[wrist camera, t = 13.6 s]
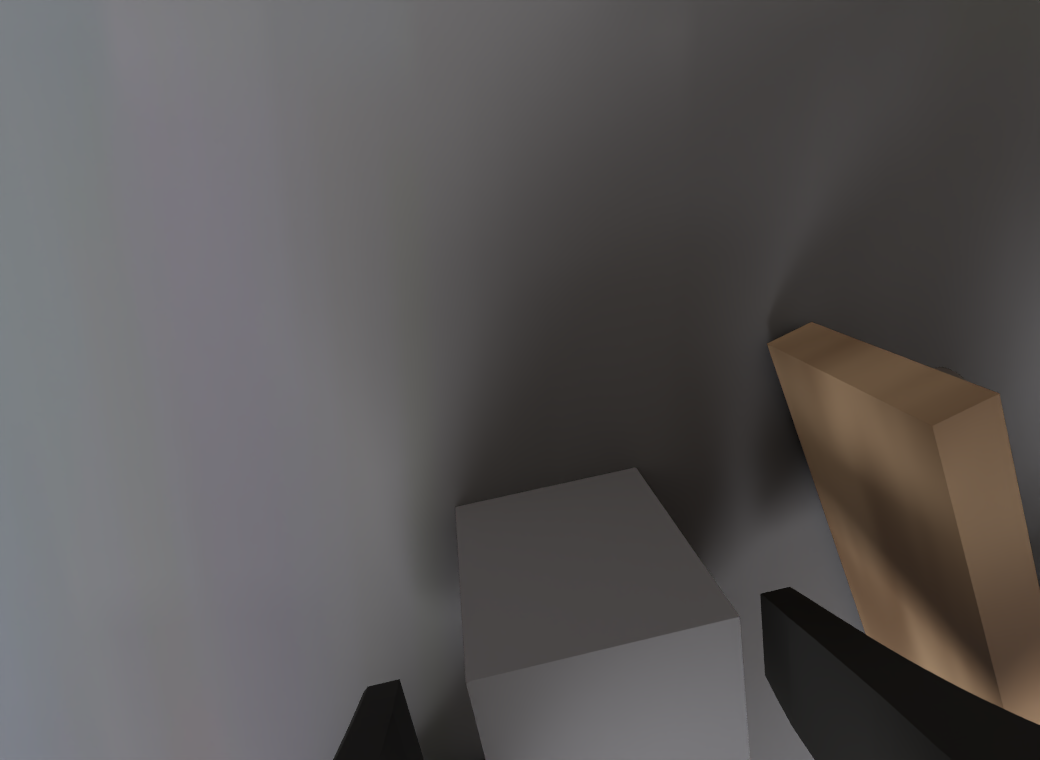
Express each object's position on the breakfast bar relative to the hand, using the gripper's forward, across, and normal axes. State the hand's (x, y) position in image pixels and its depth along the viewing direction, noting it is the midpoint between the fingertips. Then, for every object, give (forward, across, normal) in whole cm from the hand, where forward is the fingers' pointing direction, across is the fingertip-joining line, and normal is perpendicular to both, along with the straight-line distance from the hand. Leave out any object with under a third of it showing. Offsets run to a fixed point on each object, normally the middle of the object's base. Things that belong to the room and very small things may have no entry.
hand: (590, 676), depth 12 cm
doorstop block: (+2, 0, 0) cm, 3 cm away
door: (+2, -7, -1) cm, 8 cm away
